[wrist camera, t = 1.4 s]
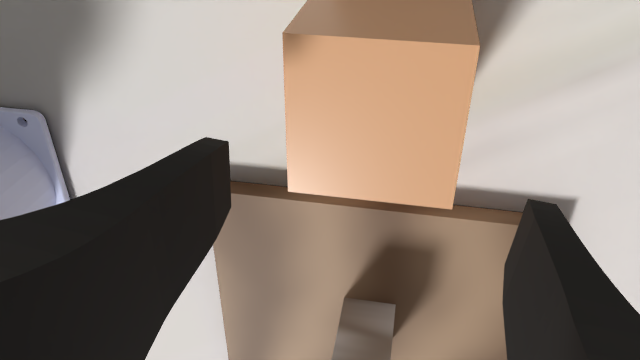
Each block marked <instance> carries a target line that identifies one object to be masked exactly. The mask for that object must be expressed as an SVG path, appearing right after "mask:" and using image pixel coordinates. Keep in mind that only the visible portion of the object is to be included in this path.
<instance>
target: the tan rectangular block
mask: <svg viewBox="0 0 640 360" xmlns="http://www.w3.org/2000/svg"><path fill="white" fill-rule="evenodd" d="M479 49H480V42H479V37H478V31H477V26H476V20H475V15H474V10H473V4H472V0H307V2H306V3H305V4H304V6H303V7H302V8H301V9H300V11H299V12H298V13H297V15H296V16H295V17H294V19H293V20H292V21H291V23H290V24H289V25H288V26H287V28H286V29H285V30H284V32H283V61H284V90H285V119H286V148H287V177H288V192H296V193H305V194H314V195H324V196H333V197H342V198H351V199H360V200H369V201H379V202H388V203H397V204H406V205H415V206H424V207H433V208H443V209H452V208H453V202H454V196H455V190H456V184H457V178H458V172H459V167H460V161H461V155H462V149H463V143H464V137H465V131H466V126H467V120H468V114H469V108H470V102H471V96H472V90H473V85H474V79H475V73H476V67H477V61H478V55H479Z"/></svg>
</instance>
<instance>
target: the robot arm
mask: <svg viewBox="0 0 640 360" xmlns="http://www.w3.org/2000/svg"><path fill="white" fill-rule="evenodd" d="M23 118H24V119H25V120H26V121H27V122H25V121H24V120H23ZM230 209H231V186H230V163H229V142H228V141H223V140H218V139H212V138H207V137H205V138H203V139H201V140H198V141H196V142H194V143H192V144H190V145H188V146H186V147H184V148H182V149H181V150H179V151H177V152H175V153H173V154H171V155H169V156H167V157H165V158H163V159H161V160H159V161H158V162H156V163H154V164H152V165H150V166H148V167H146V168H144V169H142V170H140V171H138V172H136V173H133V174H131V175H129V176H127V177H125V178H123V179H120V180H118V181H116V182H114V183H112V184H110V185H107V186H105V187H103V188H100V189H98V190H96V191H93V192H91V193H88V194H85V195H83V196H80V197H77V198H74V199H72V200H70V198H69V195H68V192H67V188H66V185H65V182H64V178H63V175H62V172H61V169H60V165H59V162H58V159H57V155H56V152H55V149H54V146H53V142H52V139H51V136H50V133H49V129H48V126H47V123H46V120H45V118H44V116H43V115H42V114H41V113H39V112H38V111H34V110H26V109H15V108H4V107H0V360H145V358H146V356H147V354H148V352H149V350H150V348H151V346H152V344H153V342H154V340H155V338H156V336H157V334H158V332H159V330H160V328H161V326H162V324H163V322H164V321H165V319H166V317H167V315H168V314H169V312H170V310H171V309H172V307H173V305H174V304H175V302H176V301H177V299H178V298H179V296H180V295H181V293H182V291H183V290H184V288H185V287H186V285H187V284H188V282H189V281H190V279H191V278H192V276H193V275H194V273H195V272H196V270H197V269H198V267H199V266H200V264H201V263H202V261H203V259H204V258H205V256H206V255H207V253H208V252H209V250H210V248H211V247H212V245H213V244H214V242H215V241H216V239H217V237H218V235H219V233H220V231H221V229H222V227H223V224H224V222H225V220H226V218H227V215H228V213H229V211H230ZM502 304H503V317H504V329H505V341H506V352H507V360H640V314H639V313H638V312H637V311H636V310H635V309H634V308H633V307H632V306H631V304H630V303H629V302H628V301H627V300H626V299H625V297H624V296H623V295H622V294H621V293H620V291H619V290H618V289H617V288H616V287H615V286H614V284H613V283H612V282H611V281H610V279H609V278H608V277H607V276H606V274H605V273H604V272H603V271H602V269H601V268H600V267H599V265H598V264H597V263H596V261H595V260H594V258H593V257H592V256H591V254H590V253H589V252H588V250H587V249H586V247H585V246H584V245H583V243H582V242H581V240H580V239H579V237H578V236H577V234H576V233H575V231H574V230H573V228H572V227H571V225H570V224H569V223H568V221H567V220H566V218H565V217H564V215H563V214H562V212H561V211H560V209H559V208H558V206H557V205H556V204H551V203H546V202H541V201H536V200H531V199H528V200H527V203H526V206H525V209H524V212H523V214H522V217H521V220H520V223H519V226H518V228H517V231H516V234H515V237H514V240H513V242H512V245H511V248H510V251H509V253H508V256H507V259H506V262H505V265H504V280H503V302H502Z"/></svg>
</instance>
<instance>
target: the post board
mask: <svg viewBox="0 0 640 360" xmlns="http://www.w3.org/2000/svg"><path fill="white" fill-rule="evenodd" d="M230 186H231V209H230V211H229V213H228V215H227V218H226V220H225V222H224V224H223V227H222V229H221V231H220V233H219V235H218V237H217V239H216V241H215V242H214V244H213V247H214V254H215V262H216V269H217V276H218V284H219V291H220V299H221V306H222V313H223V321H224V328H225V336H226V343H227V350H228V358H229V360H507V352H506V341H505V329H504V317H503V304H502V302H503V280H504V265H505V262H506V259H507V256H508V253H509V251H510V248H511V245H512V242H513V240H514V237H515V234H516V231H517V228H518V226H519V223H520V220H521V217H522V214H523V212H514V211H504V210H495V209H486V208H477V207H467V206H458V205H453V208H452V209H443V208H433V207H424V206H415V205H406V204H397V203H388V202H379V201H369V200H360V199H351V198H342V197H333V196H324V195H314V194H305V193H296V192H288V187H282V186H273V185H263V184H254V183H245V182H236V181H230Z"/></svg>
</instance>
